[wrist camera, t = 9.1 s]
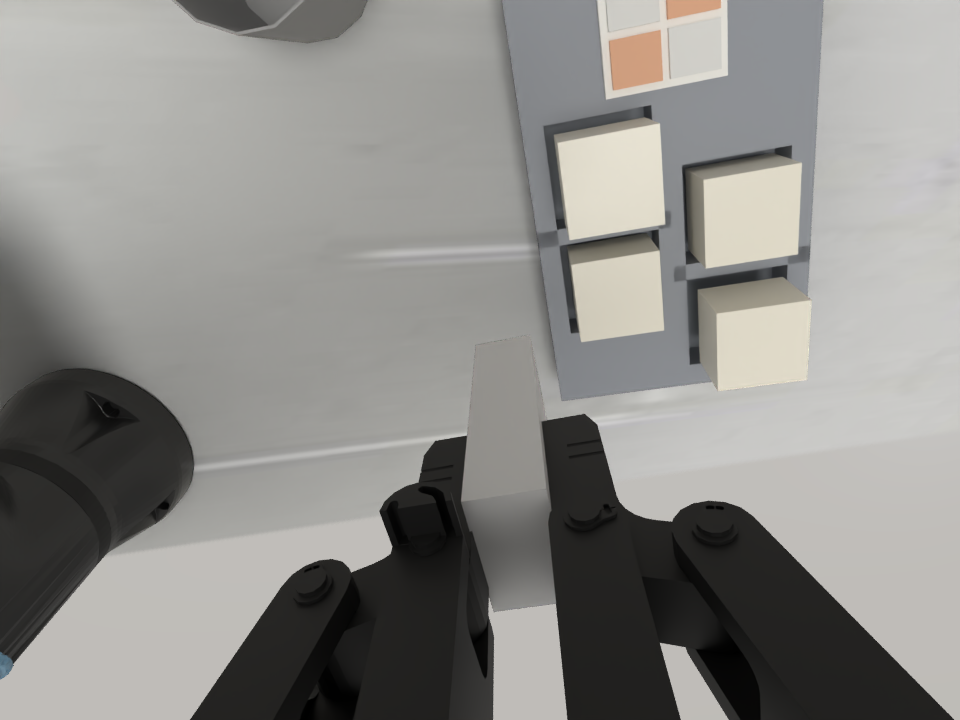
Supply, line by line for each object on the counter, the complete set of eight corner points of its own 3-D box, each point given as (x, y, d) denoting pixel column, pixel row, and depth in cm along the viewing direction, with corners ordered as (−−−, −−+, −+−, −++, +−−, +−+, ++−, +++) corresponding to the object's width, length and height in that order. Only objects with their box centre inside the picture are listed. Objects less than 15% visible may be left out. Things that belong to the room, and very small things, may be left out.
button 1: (699, 361, 39) (717, 391, 35) (697, 289, 36) (716, 313, 33) (780, 350, 38) (807, 379, 34) (782, 276, 36) (811, 300, 32)
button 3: (688, 249, 37) (705, 268, 34) (685, 168, 35) (703, 180, 32) (770, 236, 37) (798, 254, 33) (772, 152, 35) (802, 162, 31)
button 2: (575, 317, 40) (581, 342, 36) (566, 246, 38) (571, 264, 34) (651, 306, 39) (664, 330, 36) (646, 232, 37) (659, 250, 33)
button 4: (564, 222, 35) (569, 240, 32) (553, 134, 33) (557, 142, 29) (650, 208, 34) (665, 224, 31) (644, 117, 32) (660, 123, 29)
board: (558, 374, 45) (562, 406, 41) (502, -4, 34) (499, -14, 30) (780, 344, 43) (808, 374, 38) (793, -70, 32) (835, -91, 28)
